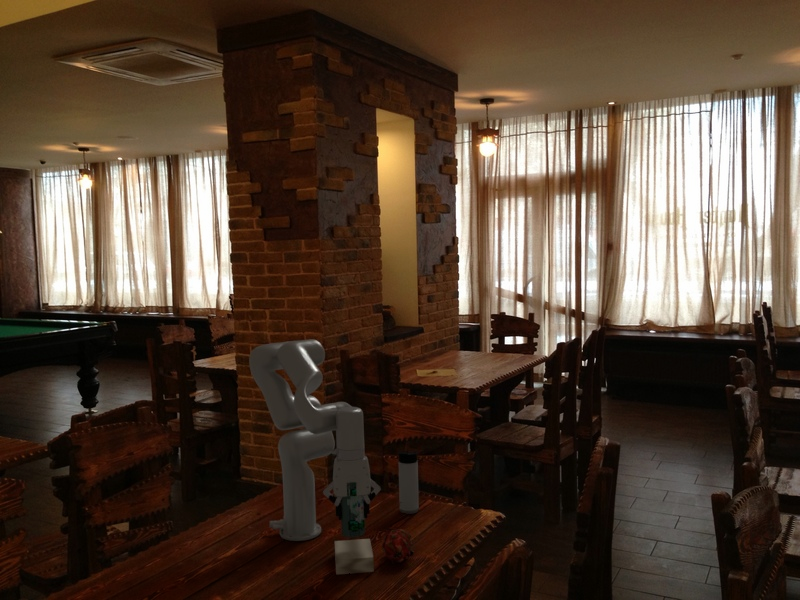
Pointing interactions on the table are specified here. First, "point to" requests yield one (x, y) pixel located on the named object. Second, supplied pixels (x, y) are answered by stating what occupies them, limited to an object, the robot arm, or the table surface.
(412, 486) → the travel mug
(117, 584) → the table surface
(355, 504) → the can
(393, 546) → the dragon fruit
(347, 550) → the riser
